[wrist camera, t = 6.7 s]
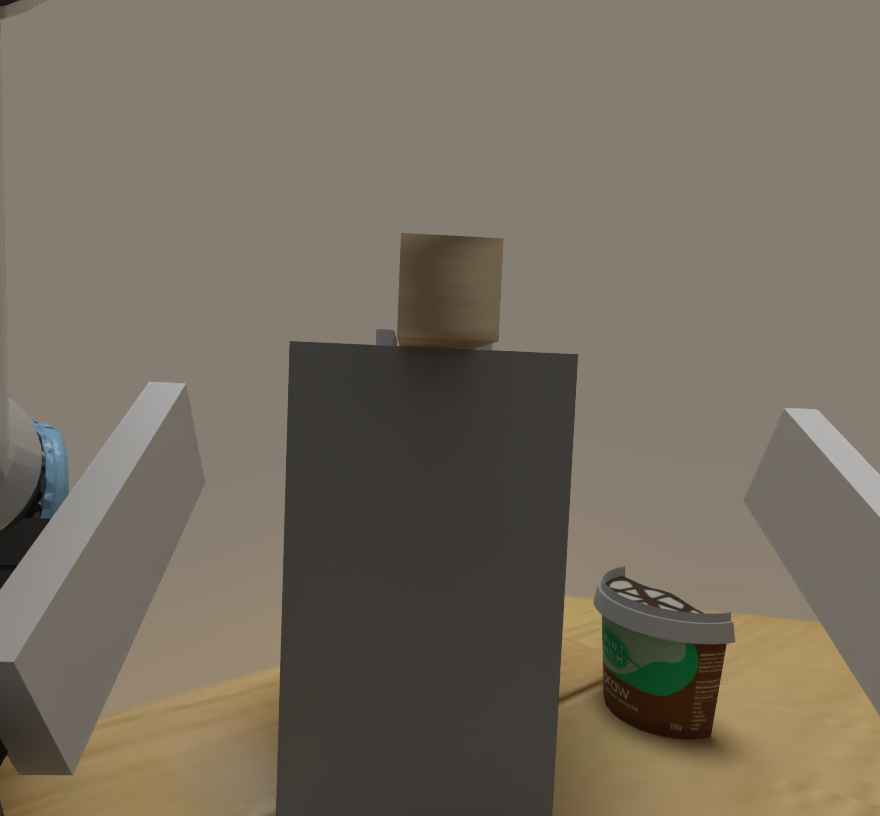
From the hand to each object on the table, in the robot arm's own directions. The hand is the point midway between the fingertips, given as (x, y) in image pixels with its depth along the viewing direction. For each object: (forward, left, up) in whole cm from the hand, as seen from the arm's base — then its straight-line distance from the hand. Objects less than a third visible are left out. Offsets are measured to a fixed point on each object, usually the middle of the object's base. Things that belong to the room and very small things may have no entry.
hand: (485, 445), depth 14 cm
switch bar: (0, +24, +3) cm, 24 cm away
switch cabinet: (0, +30, -25) cm, 39 cm away
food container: (+18, +34, -25) cm, 46 cm away
